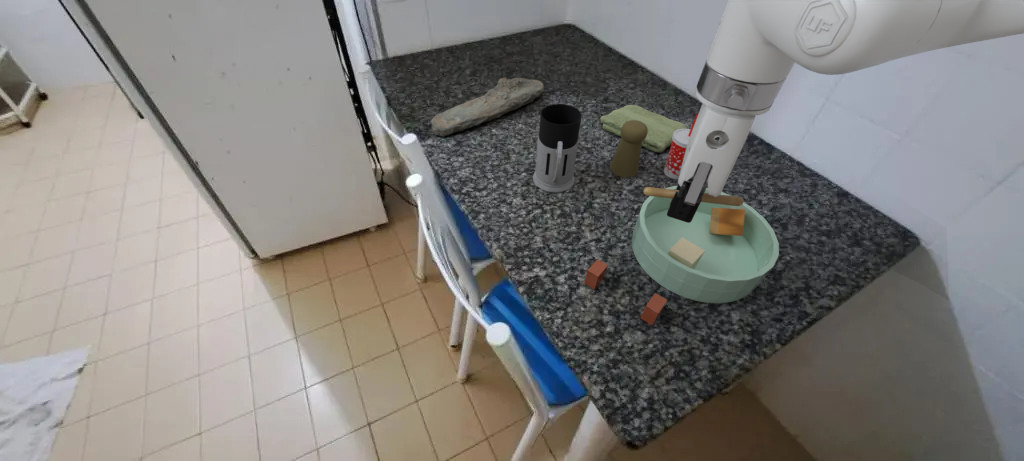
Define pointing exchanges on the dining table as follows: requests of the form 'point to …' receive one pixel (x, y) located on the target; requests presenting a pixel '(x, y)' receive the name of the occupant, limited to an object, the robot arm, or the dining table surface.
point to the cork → (629, 149)
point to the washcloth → (656, 124)
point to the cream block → (686, 253)
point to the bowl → (725, 262)
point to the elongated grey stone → (487, 105)
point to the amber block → (727, 221)
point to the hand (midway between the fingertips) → (679, 213)
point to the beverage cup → (677, 151)
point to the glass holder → (557, 147)
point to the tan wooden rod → (705, 198)
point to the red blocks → (652, 308)
